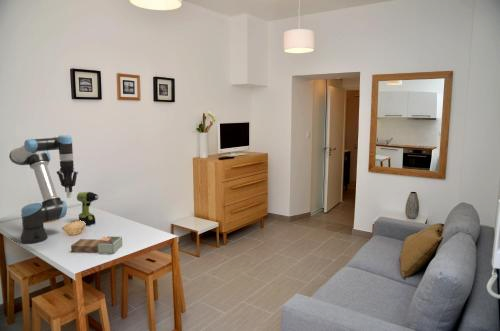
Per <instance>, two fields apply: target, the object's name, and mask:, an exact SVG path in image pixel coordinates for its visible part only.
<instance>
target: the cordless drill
mask: <svg viewBox="0 0 500 331" xmlns="http://www.w3.org/2000/svg"><path fill="white" fill-rule="evenodd" d="M98 199H99V195H98V194H97V193H94V192H92V191H80V192H78V193H77V195H76V200H77V201H78V202H81V203H82V206H81V211H82V212H81V213H79V214H78V221H79V220H81V221H84V222H85V223H86V227H90V226H93V225H95V224H96V217H95V215H94V213H91V212H90V206H91V203H92V202H94V201H98Z"/></svg>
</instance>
